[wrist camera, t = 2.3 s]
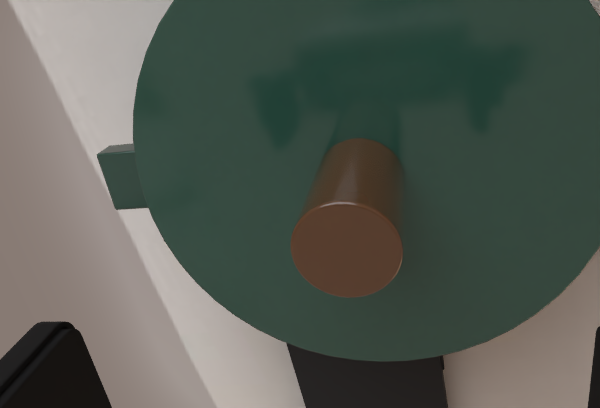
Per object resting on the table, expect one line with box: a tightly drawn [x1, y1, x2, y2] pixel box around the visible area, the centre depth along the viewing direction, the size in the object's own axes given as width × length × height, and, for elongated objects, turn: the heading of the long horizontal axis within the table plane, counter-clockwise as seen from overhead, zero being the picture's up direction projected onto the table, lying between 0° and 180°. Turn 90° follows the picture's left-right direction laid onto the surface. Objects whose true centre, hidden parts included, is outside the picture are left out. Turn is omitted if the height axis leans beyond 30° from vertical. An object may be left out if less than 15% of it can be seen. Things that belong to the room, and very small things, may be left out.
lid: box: [133, 0, 600, 362], centre depth 15 cm, size 16×16×6 cm
